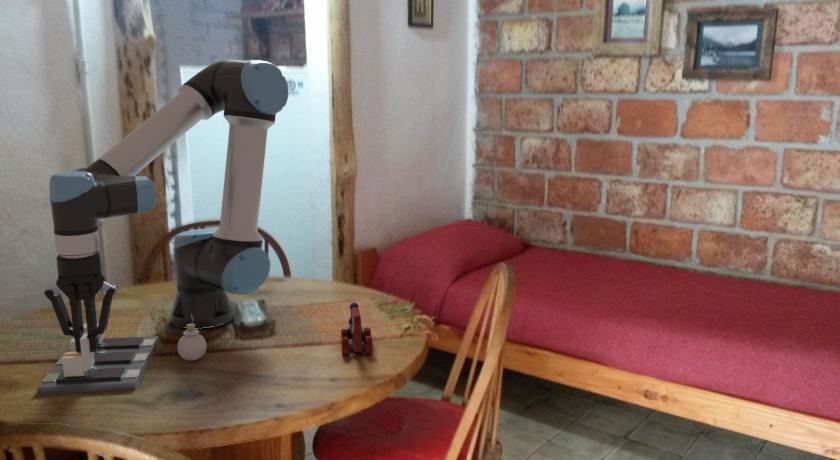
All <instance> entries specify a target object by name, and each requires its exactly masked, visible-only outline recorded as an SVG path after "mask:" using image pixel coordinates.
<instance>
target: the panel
mask: <svg viewBox="0 0 840 460" xmlns="http://www.w3.org/2000/svg"><path fill="white" fill-rule="evenodd" d="M98 324H99V322H97V327H98ZM83 329H85V331H84V332H83V334H88V333H87V323H86V322H85V323H83ZM97 338H98V349H97V350H96V352H94V362H95V364H94V365H93V367H92V368H91V369H88V370H87V372H86V373H85V375H84V376H71V377H64V372H63V362H62V358H63V356H64V353H67V352H76V347H75V339H74V337H73V336H72V339H71V340H70V341H69V346H68V348H67V349H66V351H64V353H63V354H62V355H61V357H60V358H59V359H58V360H57V361H56V363H55V364H54V365H53V367H52V368H51V369H50V370H49V372H48V373H46V375H45V376H44V378H42V380H41V381H40V383H39V384H38V385H37V387H36V395H37V396H39V395H40V396H44V395H58V394H59V395H61V394H63V395H65V394H79V393H95V392H97V393H98V392H115V391H133V390H134V391H136V390H137V388H138V386H139V383H140V381H141V380H142V378H143V377H144V373H145V372H146V371H147V367H148V366H149V363H150V361H151V360H152V358H153V355H154V354H155V351H156V350H157V347H158V345H159V343H160V336H159V335H154V336H153V335H151V336H150V335H149V336H147V335H145V336H125V337H105V338H104V333H103V334H99V335H97Z"/></svg>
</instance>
